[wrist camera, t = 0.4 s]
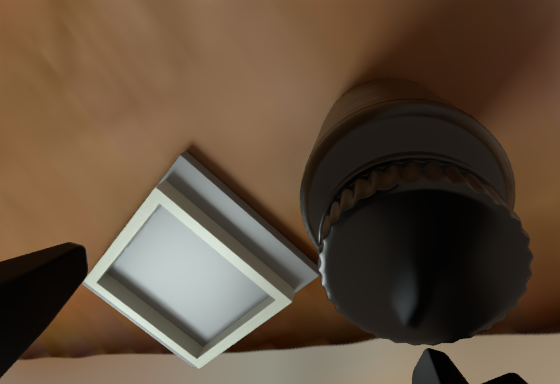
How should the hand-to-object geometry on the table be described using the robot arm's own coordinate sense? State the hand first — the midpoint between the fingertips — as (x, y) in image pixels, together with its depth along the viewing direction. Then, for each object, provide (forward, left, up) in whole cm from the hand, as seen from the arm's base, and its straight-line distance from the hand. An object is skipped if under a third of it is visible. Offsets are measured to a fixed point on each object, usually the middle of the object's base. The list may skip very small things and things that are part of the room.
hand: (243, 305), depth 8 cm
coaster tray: (0, +13, -13) cm, 18 cm away
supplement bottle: (-2, -4, -13) cm, 14 cm away
